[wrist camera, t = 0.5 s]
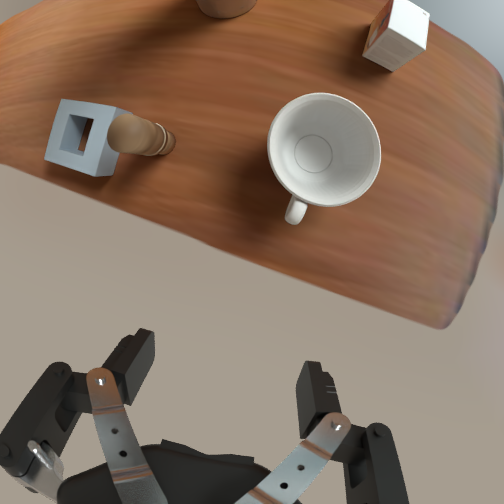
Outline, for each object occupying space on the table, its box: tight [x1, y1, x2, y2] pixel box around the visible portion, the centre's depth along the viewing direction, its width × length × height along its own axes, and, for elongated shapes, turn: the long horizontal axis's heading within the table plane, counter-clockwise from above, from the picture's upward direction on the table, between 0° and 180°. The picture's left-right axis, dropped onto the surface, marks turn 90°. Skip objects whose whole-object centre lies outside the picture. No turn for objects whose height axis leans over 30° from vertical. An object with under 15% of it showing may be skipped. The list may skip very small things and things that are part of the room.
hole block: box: [44, 99, 133, 177], centre depth 32 cm, size 12×10×5 cm
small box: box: [362, 0, 430, 72], centre depth 23 cm, size 8×6×10 cm
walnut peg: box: [107, 113, 176, 156], centre depth 29 cm, size 4×4×12 cm
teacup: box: [267, 93, 381, 225], centre depth 30 cm, size 12×15×10 cm
